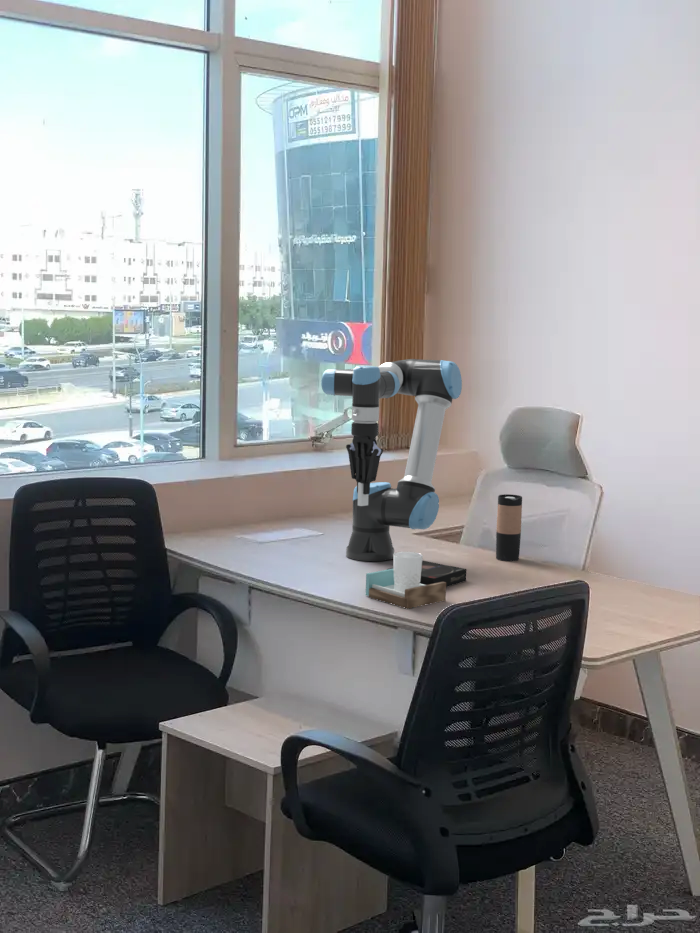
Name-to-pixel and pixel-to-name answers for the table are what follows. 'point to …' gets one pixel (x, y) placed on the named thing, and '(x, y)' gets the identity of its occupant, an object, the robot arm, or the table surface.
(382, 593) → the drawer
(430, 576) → the portable cd player
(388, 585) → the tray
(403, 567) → the white cup
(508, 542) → the travel mug
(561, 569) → the table surface
